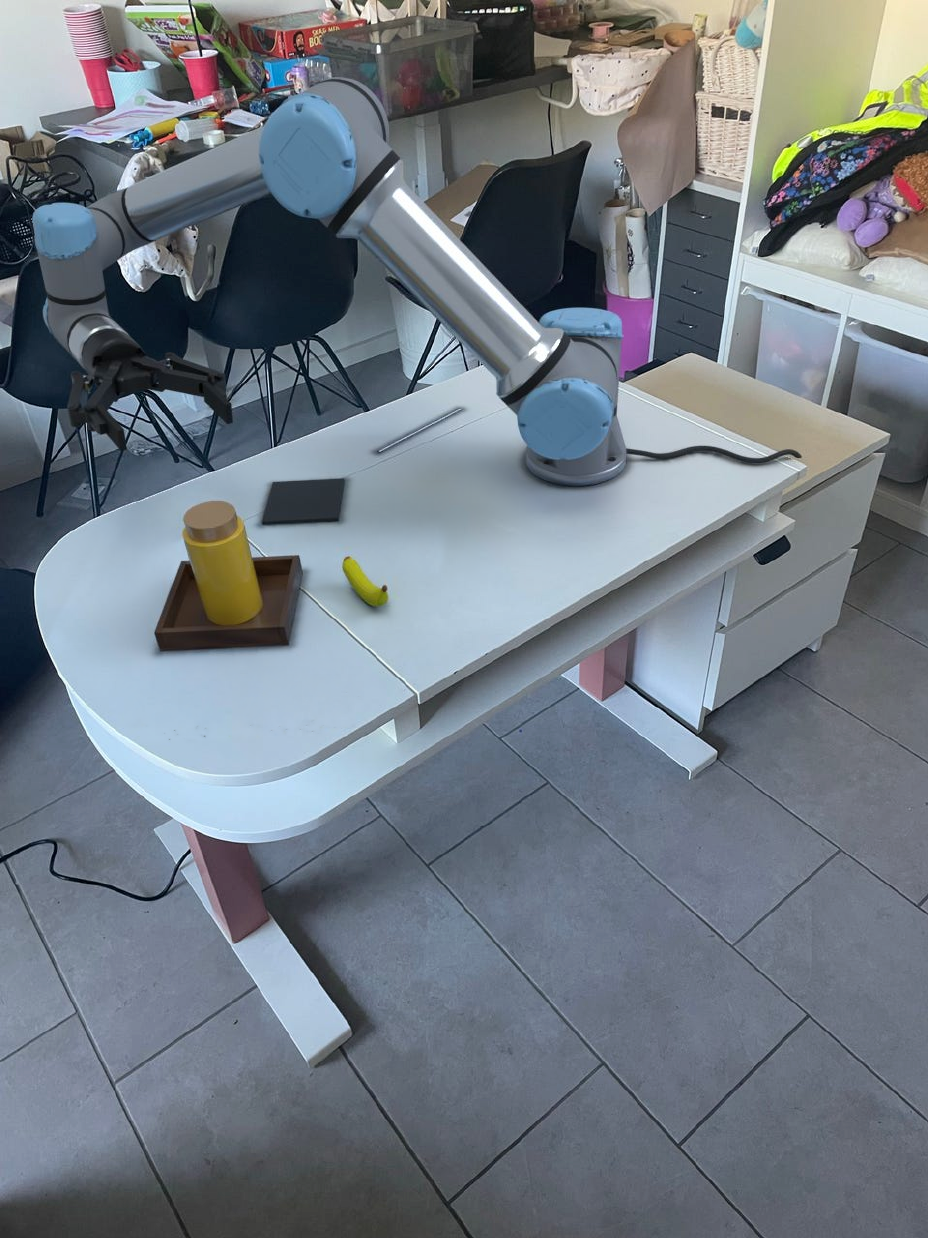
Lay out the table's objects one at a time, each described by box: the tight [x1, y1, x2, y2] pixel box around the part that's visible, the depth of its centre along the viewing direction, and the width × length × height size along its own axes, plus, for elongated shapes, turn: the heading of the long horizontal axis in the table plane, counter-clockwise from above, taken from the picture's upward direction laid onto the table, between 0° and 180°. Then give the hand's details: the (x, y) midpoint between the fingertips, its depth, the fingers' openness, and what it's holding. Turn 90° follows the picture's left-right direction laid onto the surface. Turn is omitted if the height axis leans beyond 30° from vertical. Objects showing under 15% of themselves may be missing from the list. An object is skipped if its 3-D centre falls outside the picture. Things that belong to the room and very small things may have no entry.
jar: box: [181, 500, 263, 625], centre depth 110 cm, size 7×7×14 cm
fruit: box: [341, 555, 389, 608], centre depth 114 cm, size 10×2×5 cm, turn 36°
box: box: [153, 554, 304, 652], centre depth 114 cm, size 16×15×3 cm
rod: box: [376, 407, 462, 454], centre depth 150 cm, size 1×19×1 cm, turn 136°
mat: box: [261, 477, 346, 526], centre depth 134 cm, size 11×11×1 cm
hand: (177, 426), depth 110 cm, fingers open, 13 cm apart
